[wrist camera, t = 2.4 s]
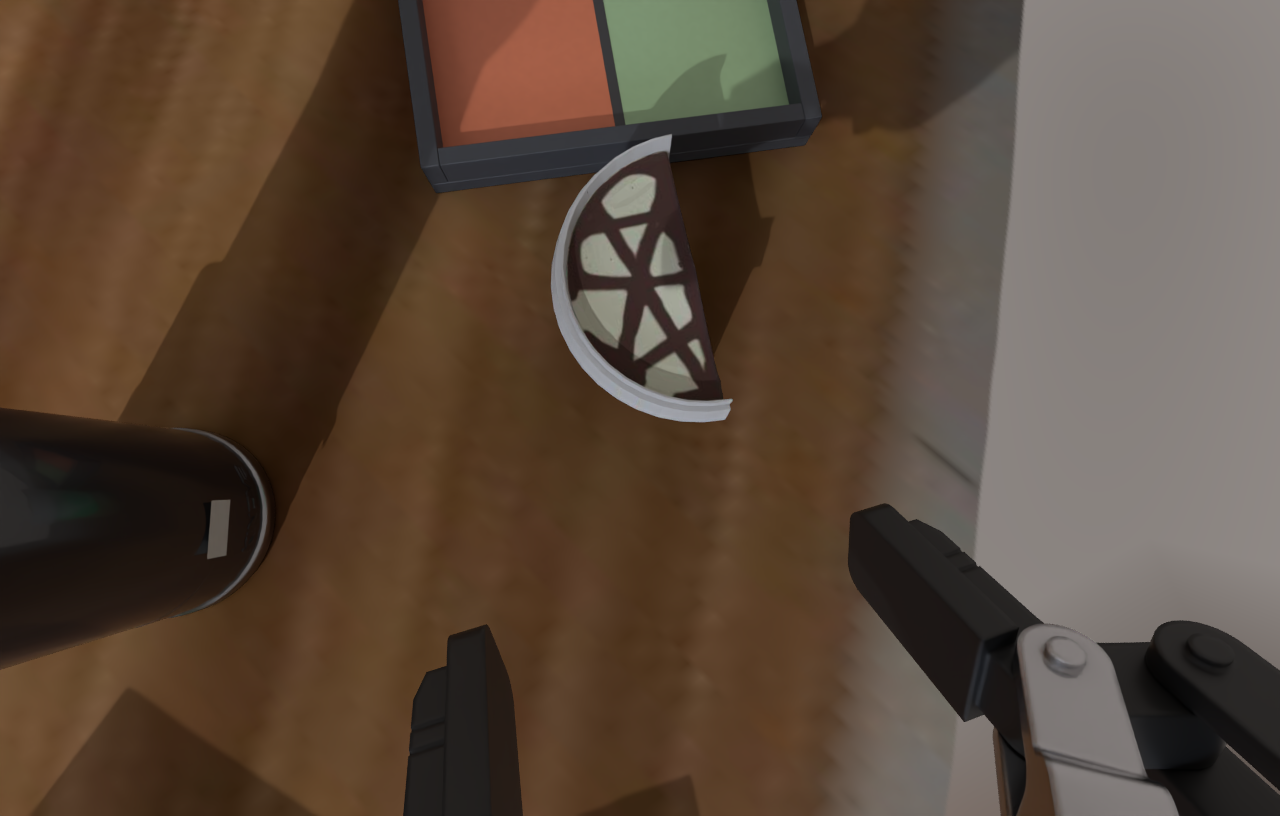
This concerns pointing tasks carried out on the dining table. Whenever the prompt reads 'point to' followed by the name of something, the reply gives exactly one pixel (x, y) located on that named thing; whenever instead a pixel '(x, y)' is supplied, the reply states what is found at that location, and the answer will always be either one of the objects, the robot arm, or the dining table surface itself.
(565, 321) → the food container
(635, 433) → the dining table surface
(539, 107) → the sorting tray
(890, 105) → the dining table surface
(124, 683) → the dining table surface
